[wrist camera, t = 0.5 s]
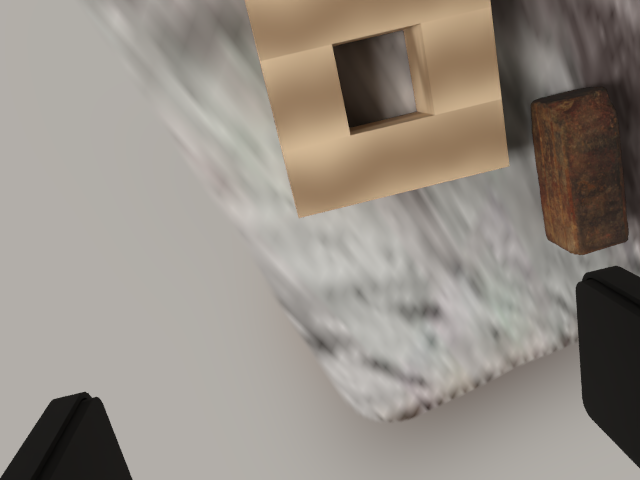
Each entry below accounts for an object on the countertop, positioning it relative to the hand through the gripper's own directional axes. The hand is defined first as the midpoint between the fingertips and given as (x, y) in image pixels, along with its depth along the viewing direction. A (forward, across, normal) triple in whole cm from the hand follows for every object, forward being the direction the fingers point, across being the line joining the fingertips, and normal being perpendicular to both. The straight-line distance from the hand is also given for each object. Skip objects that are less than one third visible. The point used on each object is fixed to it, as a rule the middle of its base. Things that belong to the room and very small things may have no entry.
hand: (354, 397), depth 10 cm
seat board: (+28, -7, -4) cm, 29 cm away
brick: (+28, -20, +4) cm, 35 cm away
